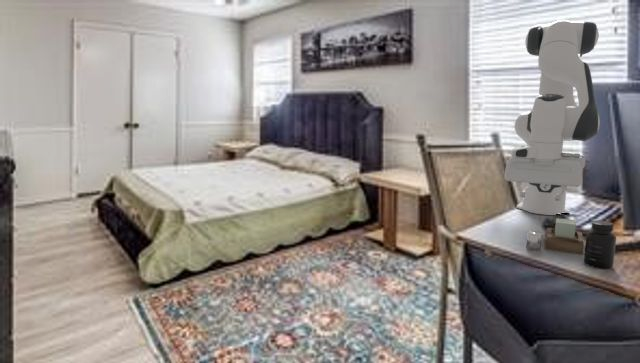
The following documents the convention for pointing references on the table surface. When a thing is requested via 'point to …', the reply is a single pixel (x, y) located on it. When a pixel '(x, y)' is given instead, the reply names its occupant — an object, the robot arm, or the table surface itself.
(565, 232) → the sage cube
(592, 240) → the supplement bottle
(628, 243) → the table surface
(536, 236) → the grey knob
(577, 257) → the table surface
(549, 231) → the walnut base
